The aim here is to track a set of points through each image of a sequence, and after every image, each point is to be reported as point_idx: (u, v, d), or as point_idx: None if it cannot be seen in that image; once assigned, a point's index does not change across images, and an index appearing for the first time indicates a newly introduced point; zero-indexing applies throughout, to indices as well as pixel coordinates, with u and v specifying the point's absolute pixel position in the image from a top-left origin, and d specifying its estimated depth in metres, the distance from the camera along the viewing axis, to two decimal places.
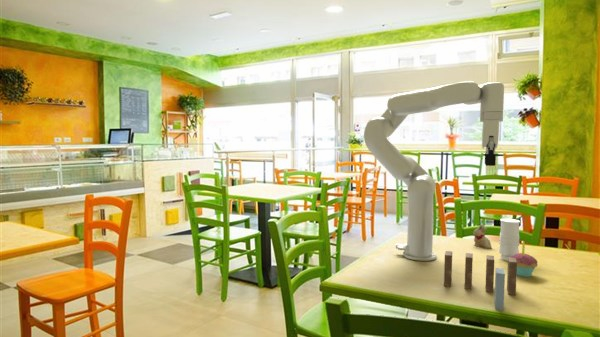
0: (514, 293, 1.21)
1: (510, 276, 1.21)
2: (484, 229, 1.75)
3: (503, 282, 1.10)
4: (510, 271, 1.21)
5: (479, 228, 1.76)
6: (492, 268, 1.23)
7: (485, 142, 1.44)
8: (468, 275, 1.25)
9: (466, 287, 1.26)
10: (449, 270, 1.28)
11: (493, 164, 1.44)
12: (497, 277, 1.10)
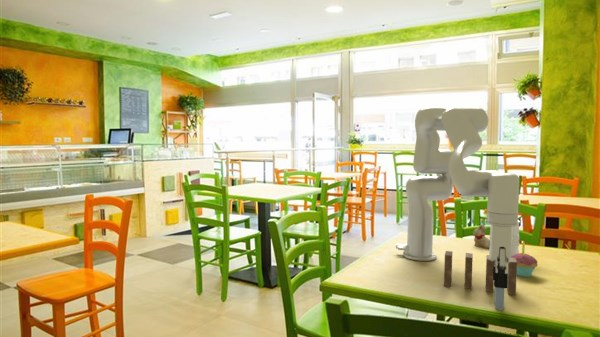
0: (514, 293, 1.21)
1: (510, 276, 1.21)
2: (484, 229, 1.75)
3: None
4: (510, 271, 1.21)
5: (479, 228, 1.76)
6: (492, 268, 1.23)
7: (494, 255, 1.08)
8: (468, 275, 1.25)
9: (466, 287, 1.26)
10: (449, 270, 1.28)
11: (504, 286, 1.09)
12: None
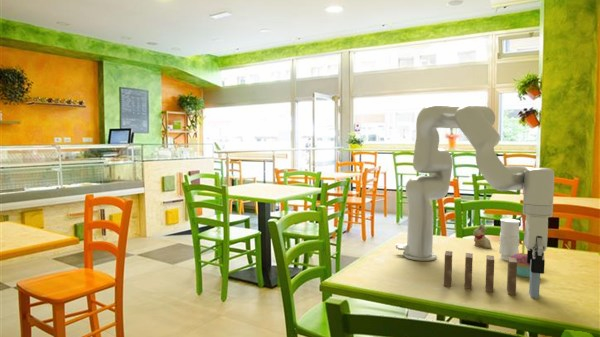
0: (514, 293, 1.21)
1: (510, 276, 1.21)
2: (484, 229, 1.75)
3: None
4: (510, 271, 1.21)
5: (479, 228, 1.76)
6: (492, 268, 1.23)
7: (531, 243, 1.16)
8: (468, 275, 1.25)
9: (466, 287, 1.26)
10: (449, 270, 1.28)
11: (541, 272, 1.15)
12: None
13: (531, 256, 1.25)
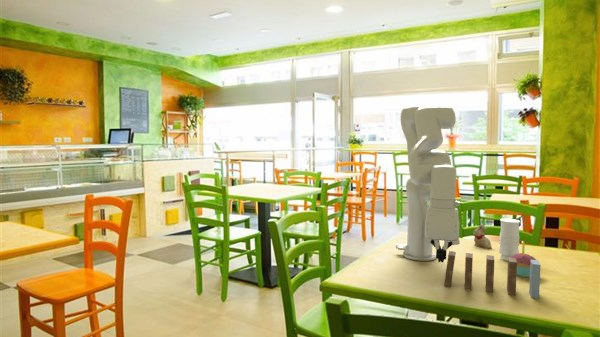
0: (514, 293, 1.21)
1: (510, 276, 1.21)
2: (484, 229, 1.75)
3: (539, 272, 1.18)
4: (510, 271, 1.21)
5: (479, 228, 1.76)
6: (492, 268, 1.23)
7: None
8: (468, 275, 1.25)
9: (466, 287, 1.26)
10: (451, 270, 1.27)
11: (438, 260, 1.30)
12: (533, 268, 1.19)
13: None
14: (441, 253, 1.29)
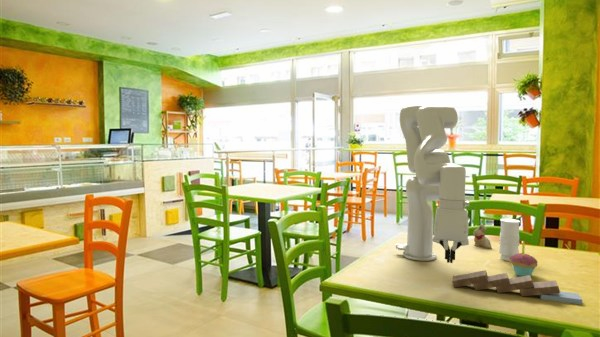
0: (523, 294, 1.20)
1: (541, 289, 1.18)
2: (484, 229, 1.75)
3: None
4: (547, 288, 1.17)
5: (479, 228, 1.76)
6: (523, 287, 1.20)
7: None
8: (489, 284, 1.23)
9: (475, 285, 1.25)
10: (470, 282, 1.25)
11: (447, 260, 1.29)
12: (577, 299, 1.15)
13: None
14: (450, 254, 1.28)
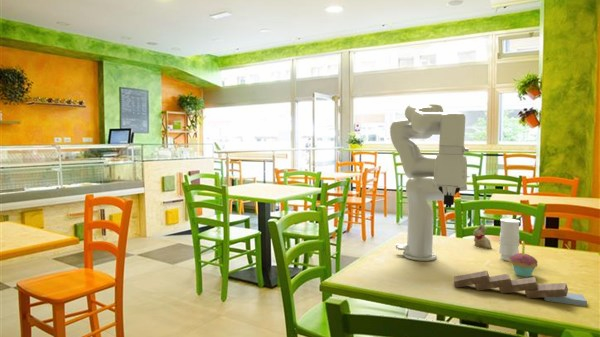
0: (528, 296, 1.19)
1: (546, 291, 1.16)
2: (484, 229, 1.75)
3: None
4: (552, 291, 1.15)
5: (479, 228, 1.76)
6: (527, 288, 1.19)
7: None
8: (490, 284, 1.23)
9: (477, 285, 1.25)
10: (472, 283, 1.25)
11: None
12: (581, 301, 1.14)
13: None
14: (448, 199, 1.33)
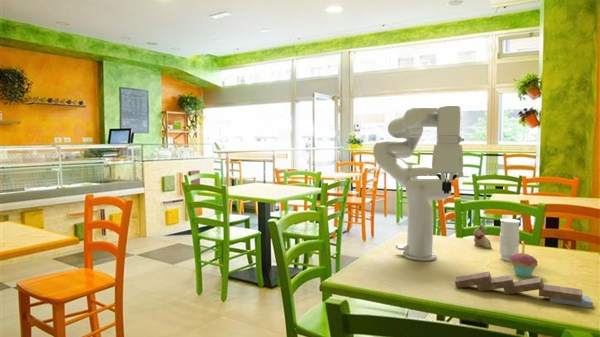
0: (541, 295, 1.17)
1: (562, 293, 1.14)
2: (484, 229, 1.75)
3: None
4: (568, 294, 1.13)
5: (479, 228, 1.76)
6: (532, 288, 1.18)
7: None
8: (492, 285, 1.22)
9: (478, 286, 1.24)
10: (473, 283, 1.24)
11: (444, 192, 1.43)
12: (587, 302, 1.13)
13: (447, 186, 1.44)
14: (446, 185, 1.42)
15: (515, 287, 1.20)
